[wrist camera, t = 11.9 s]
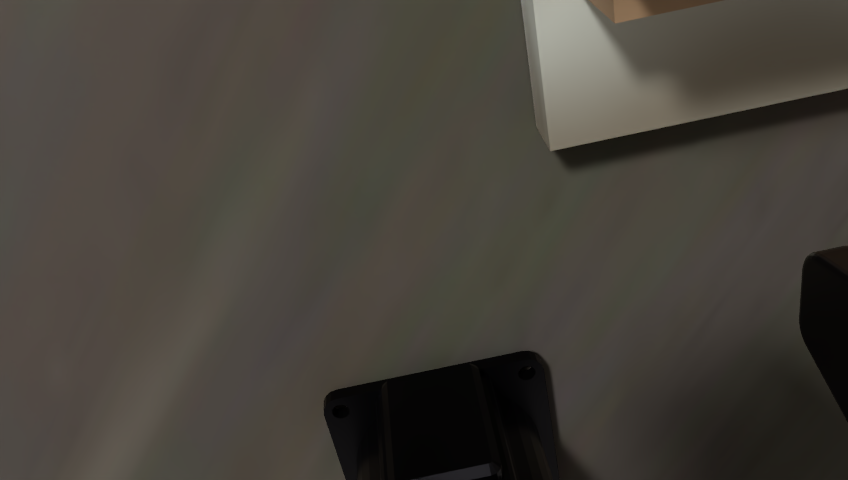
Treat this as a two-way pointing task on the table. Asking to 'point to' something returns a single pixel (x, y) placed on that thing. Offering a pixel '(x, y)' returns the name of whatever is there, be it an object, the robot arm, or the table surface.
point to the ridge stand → (675, 61)
